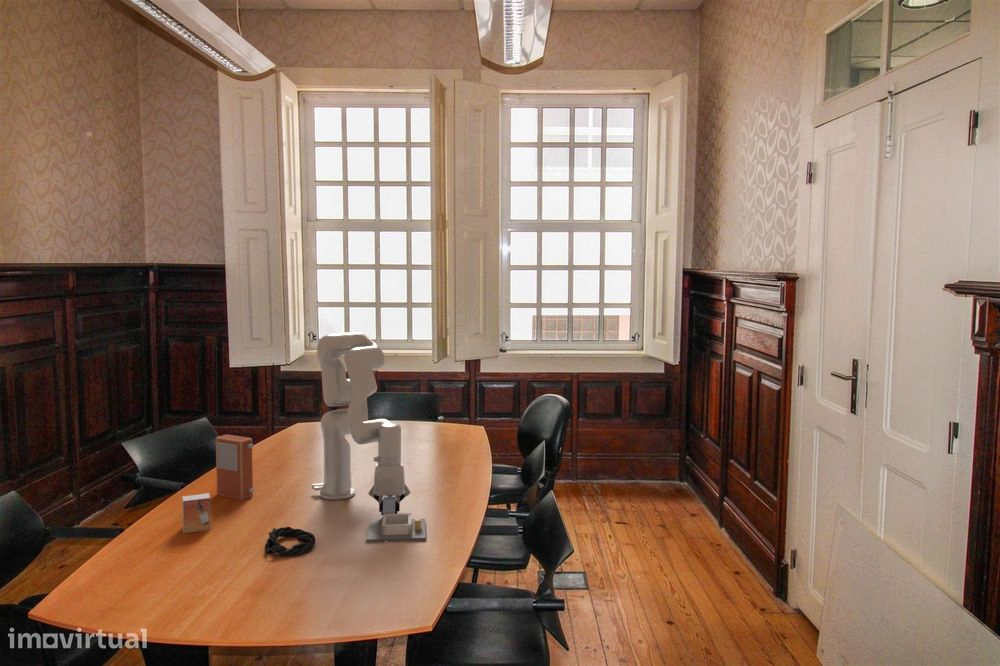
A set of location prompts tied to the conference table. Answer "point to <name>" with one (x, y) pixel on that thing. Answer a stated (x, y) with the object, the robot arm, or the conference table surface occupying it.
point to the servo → (389, 504)
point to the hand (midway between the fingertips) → (389, 513)
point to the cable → (295, 549)
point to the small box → (196, 513)
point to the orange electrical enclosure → (234, 466)
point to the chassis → (397, 528)
